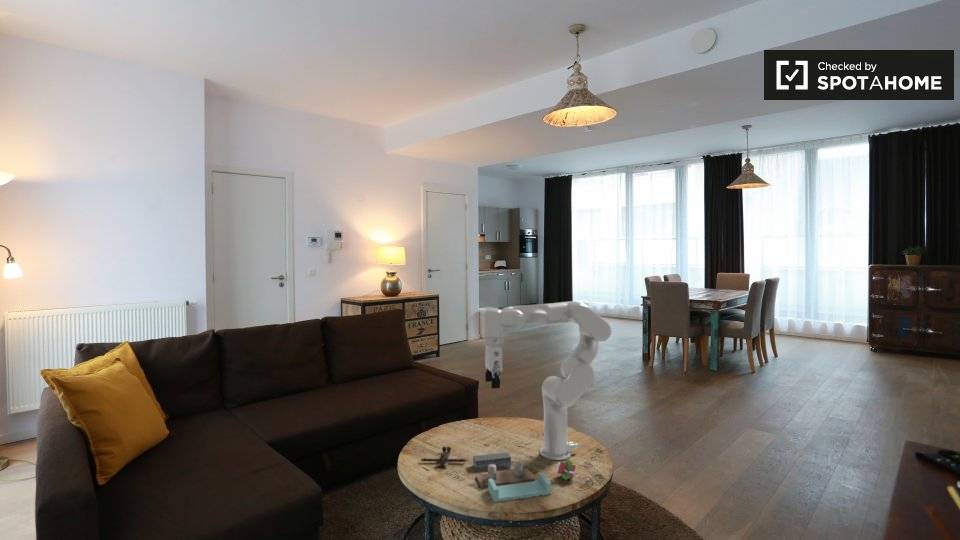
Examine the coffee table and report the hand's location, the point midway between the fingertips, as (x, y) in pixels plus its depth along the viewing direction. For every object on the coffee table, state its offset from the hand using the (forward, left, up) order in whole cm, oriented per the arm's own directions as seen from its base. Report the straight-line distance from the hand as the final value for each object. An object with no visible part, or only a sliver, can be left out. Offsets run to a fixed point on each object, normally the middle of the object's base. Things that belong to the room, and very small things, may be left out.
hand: (492, 384), depth 184 cm
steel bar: (+1, +3, -31) cm, 32 cm away
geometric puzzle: (-23, +19, -31) cm, 43 cm away
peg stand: (-1, +14, -31) cm, 34 cm away
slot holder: (-3, +24, -31) cm, 39 cm away
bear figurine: (+18, -7, -32) cm, 37 cm away
